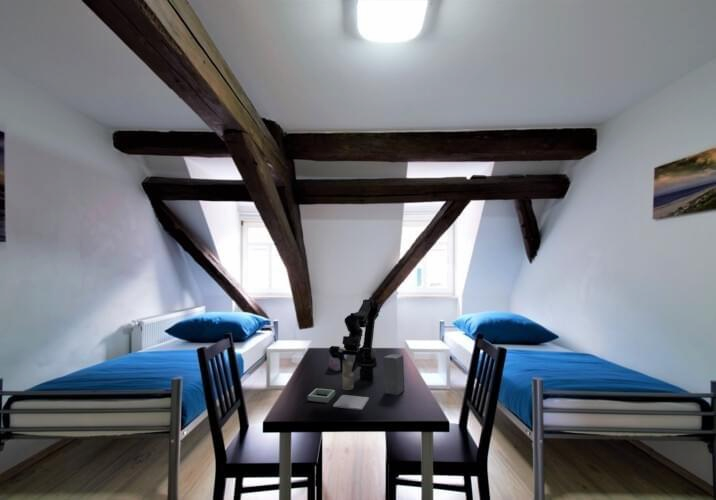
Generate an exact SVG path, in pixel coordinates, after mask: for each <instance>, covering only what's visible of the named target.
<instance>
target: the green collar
mask: <svg viewBox="0 0 716 500" xmlns="http://www.w3.org/2000/svg"><path fill="white" fill-rule="evenodd" d="M335 395H336V390H335V389H328V388H315V389H313V390H312V392H310V393H309V394H308V395H307V401H309V402H319V403H326V404H329V402H330V401H331V400H332V399H333V398H334V397H335Z"/></svg>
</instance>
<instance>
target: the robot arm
mask: <svg viewBox="0 0 716 500" xmlns="http://www.w3.org/2000/svg"><path fill="white" fill-rule="evenodd" d="M380 312H381V305H380V304H379V303H378V302H377V301H374V299H369V298H368V299H363V301H362V304H361V305H360V307H359V309H358V311H357V312H350V314H349V315H347V316H346V317H345V318H344V324H345V327H346V329H347V332H349V334H348V335H347V336H346V335H343V336H342V345H343V348H345V350H343V349H340V348H339V346H338V345H331V346H330V347H329V349H328V352H329V354H330V357H332V358H338V359H339V360H340V368H341V370H340V371H341V372H343V360H345V357H344V356H345V355H348V356H355V357H354V360H353V368H352V372H353V373H354V372H355V371H356V370H357V369H358V367H359V368H360V369H359V380H360V381H368V382H369V381H370V382H373V380H375V378H376V376H375V368H377V367H378V362H377V357H376V355H375V354H376V353H375V351H374V349H373V341H374V334H375V333H374V332H375V324H376V323H375V322H376V320H377V318H378V317H379V315H380V314H379V313H380ZM363 328H364V330H363ZM363 332H364V337H363V345H362V346H361V341H362V336H363Z"/></svg>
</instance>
